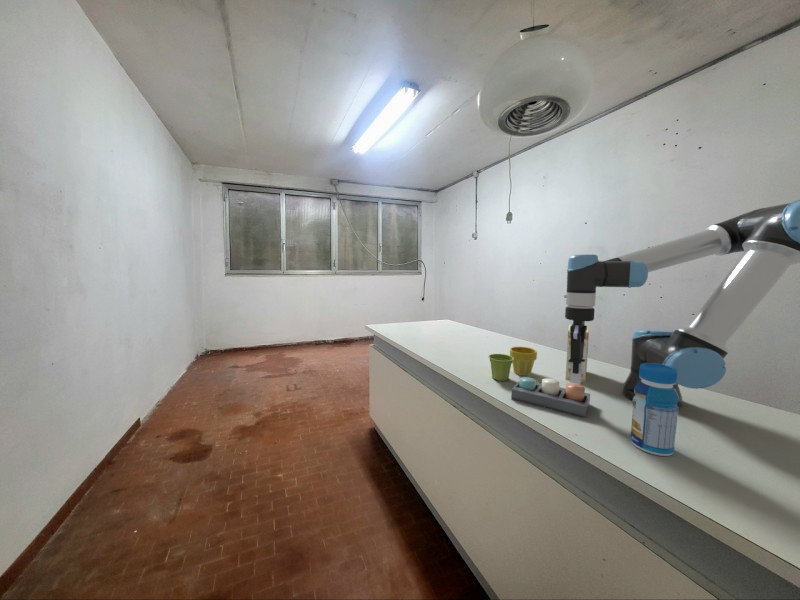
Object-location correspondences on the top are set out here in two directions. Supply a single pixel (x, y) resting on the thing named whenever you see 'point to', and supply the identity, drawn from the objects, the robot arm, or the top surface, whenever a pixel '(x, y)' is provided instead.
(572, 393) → the terracotta egg
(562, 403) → the egg display tray
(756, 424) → the top surface
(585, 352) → the coffeecake box
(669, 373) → the beverage bottle
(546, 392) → the cream egg
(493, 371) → the plant pot
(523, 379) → the teal egg
